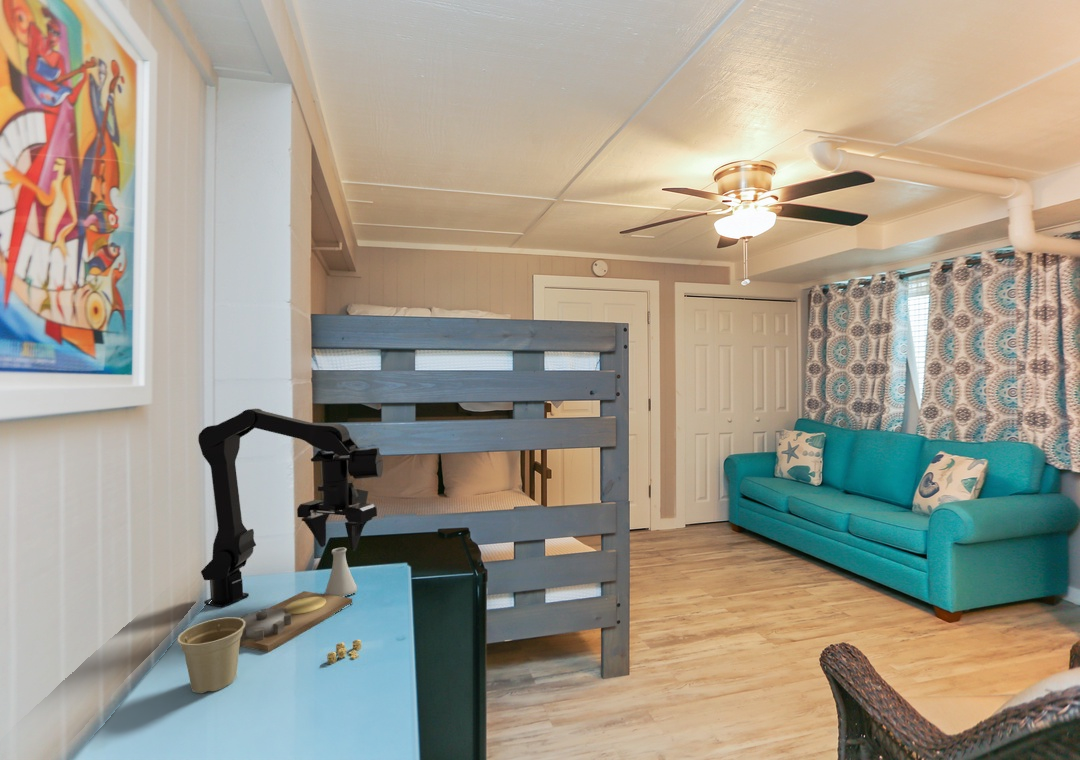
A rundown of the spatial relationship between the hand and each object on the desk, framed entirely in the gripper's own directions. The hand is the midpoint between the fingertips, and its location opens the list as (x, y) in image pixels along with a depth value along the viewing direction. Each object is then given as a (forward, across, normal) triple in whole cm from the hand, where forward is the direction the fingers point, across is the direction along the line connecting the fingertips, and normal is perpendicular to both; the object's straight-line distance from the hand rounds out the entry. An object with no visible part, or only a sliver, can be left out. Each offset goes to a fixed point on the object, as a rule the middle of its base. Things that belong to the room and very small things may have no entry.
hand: (338, 548), depth 121 cm
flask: (+10, 0, 0) cm, 11 cm away
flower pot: (+10, -7, +35) cm, 37 cm away
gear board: (+10, 0, +14) cm, 18 cm away
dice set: (+11, -21, +21) cm, 32 cm away
